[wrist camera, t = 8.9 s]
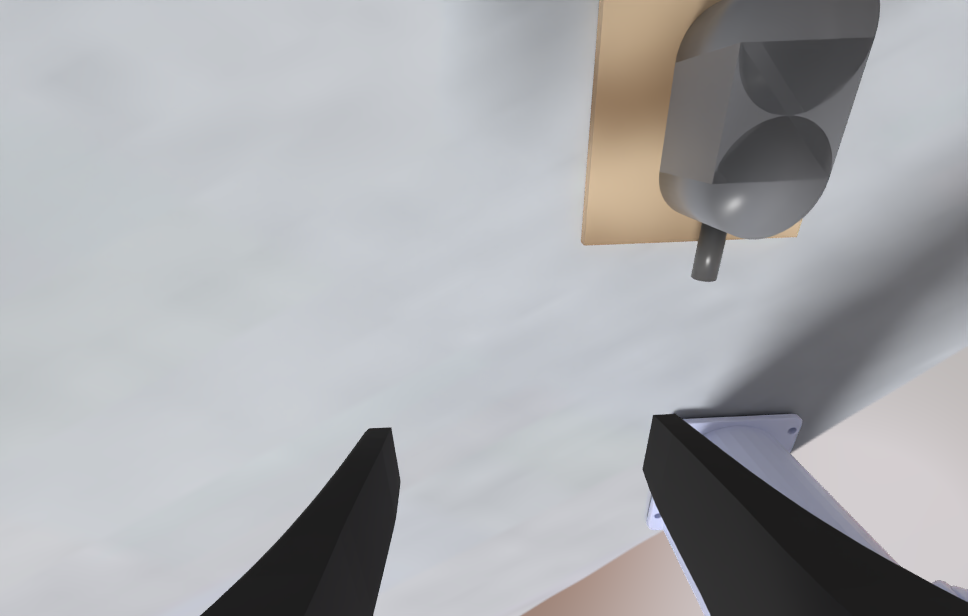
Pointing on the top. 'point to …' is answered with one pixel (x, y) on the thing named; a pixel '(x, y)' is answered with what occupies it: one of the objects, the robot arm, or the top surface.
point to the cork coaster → (636, 123)
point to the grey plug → (760, 114)
